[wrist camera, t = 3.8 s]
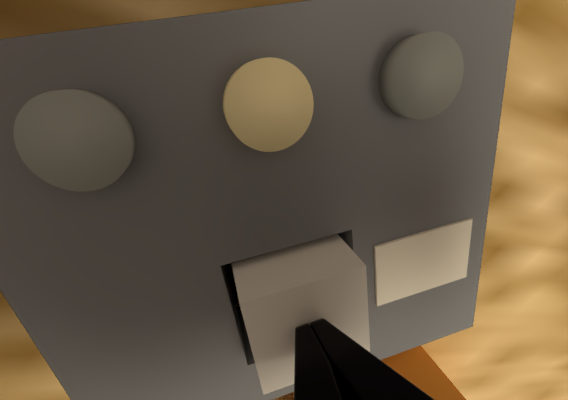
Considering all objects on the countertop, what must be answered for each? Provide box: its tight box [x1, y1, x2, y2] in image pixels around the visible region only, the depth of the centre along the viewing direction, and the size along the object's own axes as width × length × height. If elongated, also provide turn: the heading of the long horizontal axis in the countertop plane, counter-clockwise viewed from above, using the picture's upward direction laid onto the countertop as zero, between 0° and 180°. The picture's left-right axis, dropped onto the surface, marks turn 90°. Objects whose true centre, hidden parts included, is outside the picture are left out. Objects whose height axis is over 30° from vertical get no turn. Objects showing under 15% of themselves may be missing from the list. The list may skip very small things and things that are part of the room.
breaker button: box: [231, 234, 370, 395], centre depth 10 cm, size 3×3×4 cm
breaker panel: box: [0, 0, 516, 400], centre depth 10 cm, size 14×12×3 cm
